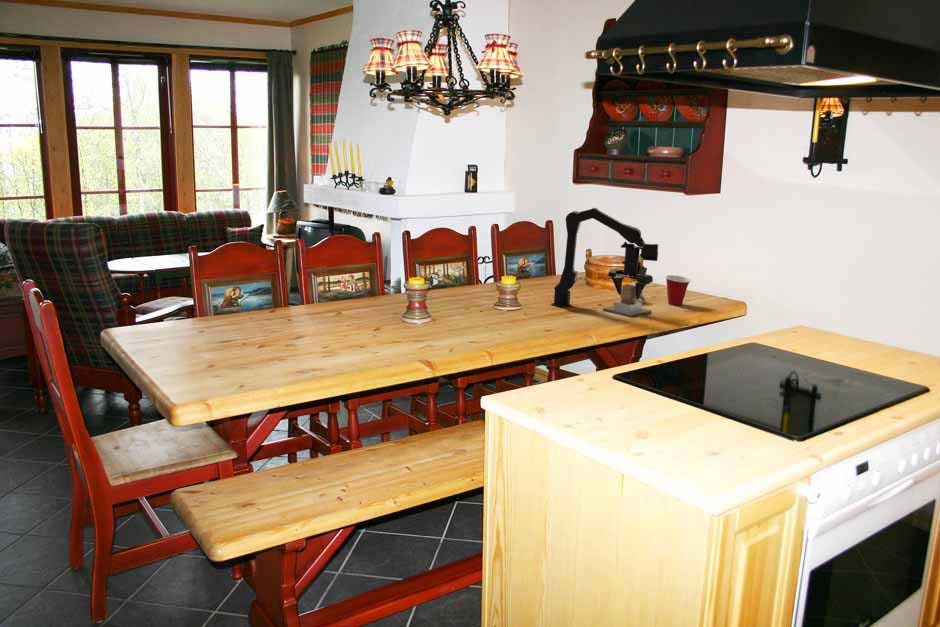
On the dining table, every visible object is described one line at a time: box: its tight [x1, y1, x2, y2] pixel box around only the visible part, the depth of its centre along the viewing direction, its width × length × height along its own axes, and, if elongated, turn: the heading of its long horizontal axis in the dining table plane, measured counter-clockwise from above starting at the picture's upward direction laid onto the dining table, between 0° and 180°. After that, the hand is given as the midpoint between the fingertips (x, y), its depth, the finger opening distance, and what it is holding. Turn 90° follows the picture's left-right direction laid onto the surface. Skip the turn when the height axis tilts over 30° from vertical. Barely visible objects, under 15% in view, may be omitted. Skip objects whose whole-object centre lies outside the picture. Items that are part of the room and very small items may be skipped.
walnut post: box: [620, 284, 636, 305], centre depth 317 cm, size 4×4×10 cm
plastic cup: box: [665, 275, 692, 307], centre depth 334 cm, size 11×11×12 cm
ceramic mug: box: [619, 282, 646, 305], centre depth 337 cm, size 11×8×8 cm
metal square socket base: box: [602, 300, 652, 318], centre depth 318 cm, size 14×14×4 cm
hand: (628, 296), depth 317 cm, fingers open, 9 cm apart
